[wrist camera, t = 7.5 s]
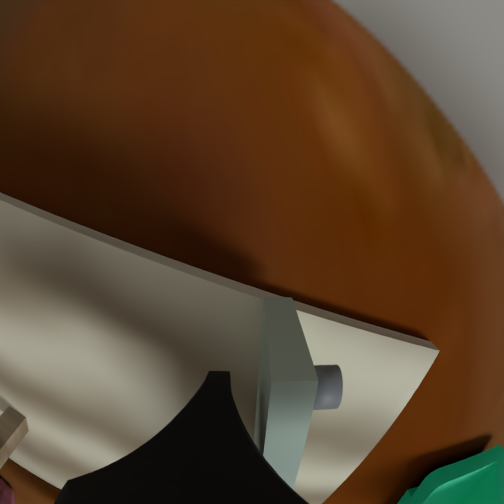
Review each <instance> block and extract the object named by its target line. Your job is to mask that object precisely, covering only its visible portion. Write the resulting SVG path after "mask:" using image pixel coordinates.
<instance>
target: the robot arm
mask: <svg viewBox="0 0 504 504" xmlns="http://www.w3.org/2000/svg"><path fill="white" fill-rule="evenodd" d="M54 504H309V503H308V502H307V501H306V500H304V499H303V498H302V497H301V496H300V495H299V494H297V493H296V492H295V491H294V490H293V489H292V488H291V487H290V486H289V485H288V484H287V483H286V482H285V481H284V480H283V479H282V478H281V477H280V476H279V475H278V474H277V472H276V471H275V470H274V469H273V468H272V466H271V465H270V464H269V463H268V462H267V460H266V459H265V458H264V456H263V455H262V454H261V452H260V451H259V449H258V448H257V446H256V445H255V443H254V442H253V440H252V438H251V437H250V435H249V433H248V431H247V429H246V428H245V425H244V423H243V421H242V419H241V417H240V415H239V412H238V410H237V407H236V404H235V402H234V399H233V395H232V391H231V377H230V371H209V372H208V374H207V376H206V379H205V381H204V382H203V384H202V385H201V386H200V388H199V389H198V390H197V392H196V393H195V394H194V396H193V397H192V398H191V399H190V401H189V402H188V403H187V404H186V405H185V407H184V408H183V409H182V410H181V411H180V412H179V413H178V414H177V415H176V416H175V417H174V418H173V419H172V420H171V421H170V422H169V423H168V424H167V425H166V426H165V427H164V428H163V429H162V430H161V431H159V432H158V433H157V434H156V435H155V436H153V437H152V438H151V439H150V440H148V441H147V442H146V443H144V444H143V445H141V446H140V447H139V448H137V449H136V450H134V451H133V452H131V453H129V454H128V455H126V456H124V457H122V458H121V459H119V460H117V461H115V462H113V463H111V464H109V465H107V466H105V467H103V468H100V469H98V470H96V471H93V472H90V473H87V474H85V475H82V476H79V477H76V478H73V479H70V480H67V482H66V483H65V485H64V486H63V488H62V489H61V491H60V493H59V495H58V497H57V499H56V501H55V503H54Z"/></svg>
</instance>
